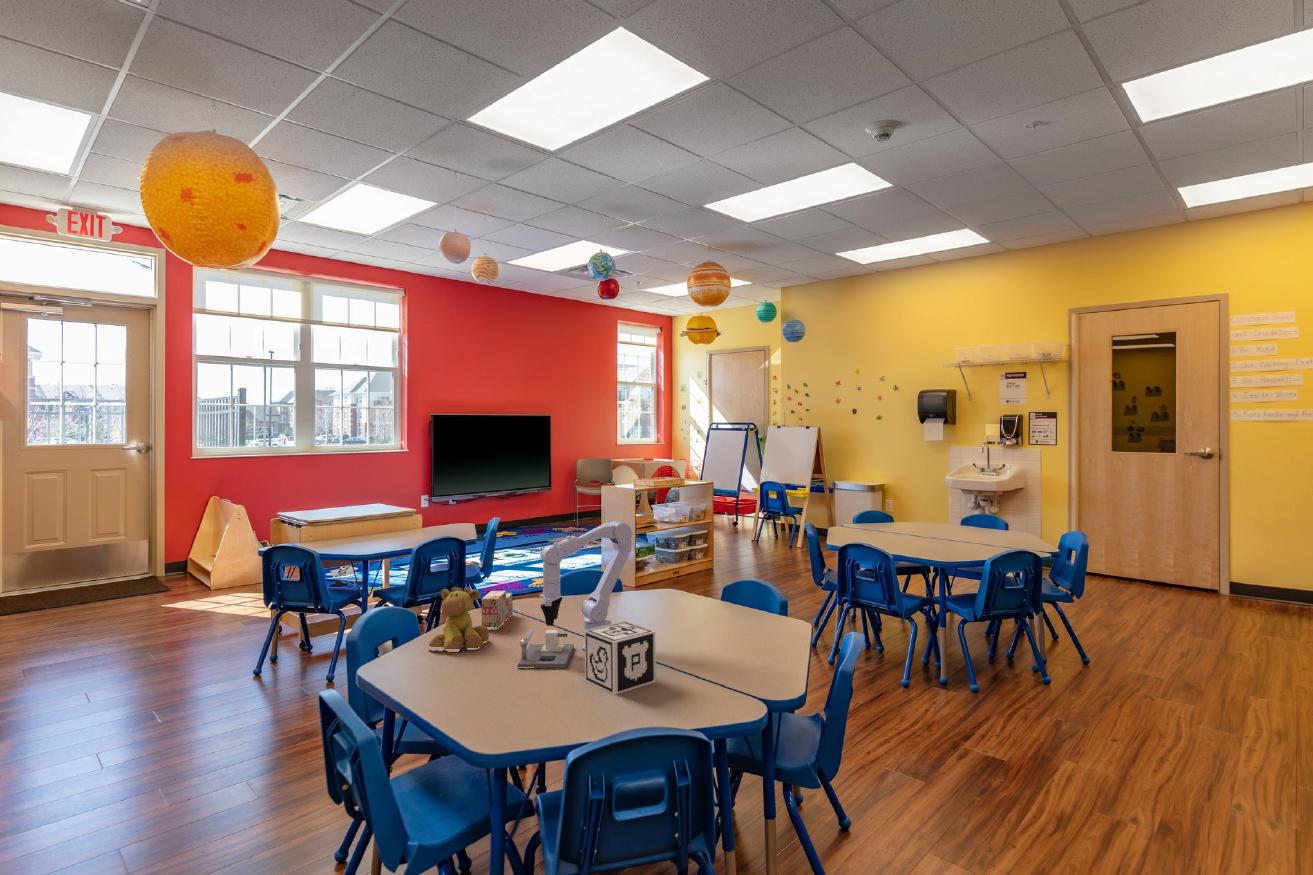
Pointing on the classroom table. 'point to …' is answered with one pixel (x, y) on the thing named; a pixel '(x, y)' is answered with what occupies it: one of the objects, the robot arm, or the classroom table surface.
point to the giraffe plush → (459, 621)
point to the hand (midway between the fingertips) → (551, 622)
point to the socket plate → (545, 656)
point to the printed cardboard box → (496, 608)
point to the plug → (552, 639)
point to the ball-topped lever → (527, 637)
